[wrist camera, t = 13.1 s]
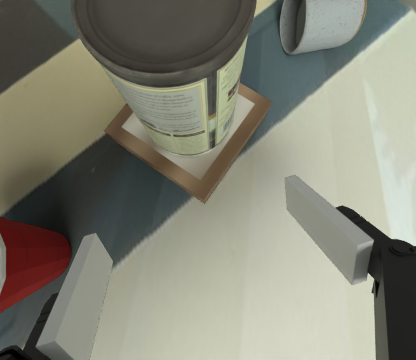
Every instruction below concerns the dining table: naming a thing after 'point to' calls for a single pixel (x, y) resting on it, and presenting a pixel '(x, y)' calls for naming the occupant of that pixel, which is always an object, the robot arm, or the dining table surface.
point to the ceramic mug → (319, 23)
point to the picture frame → (202, 165)
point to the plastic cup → (28, 259)
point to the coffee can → (172, 63)
